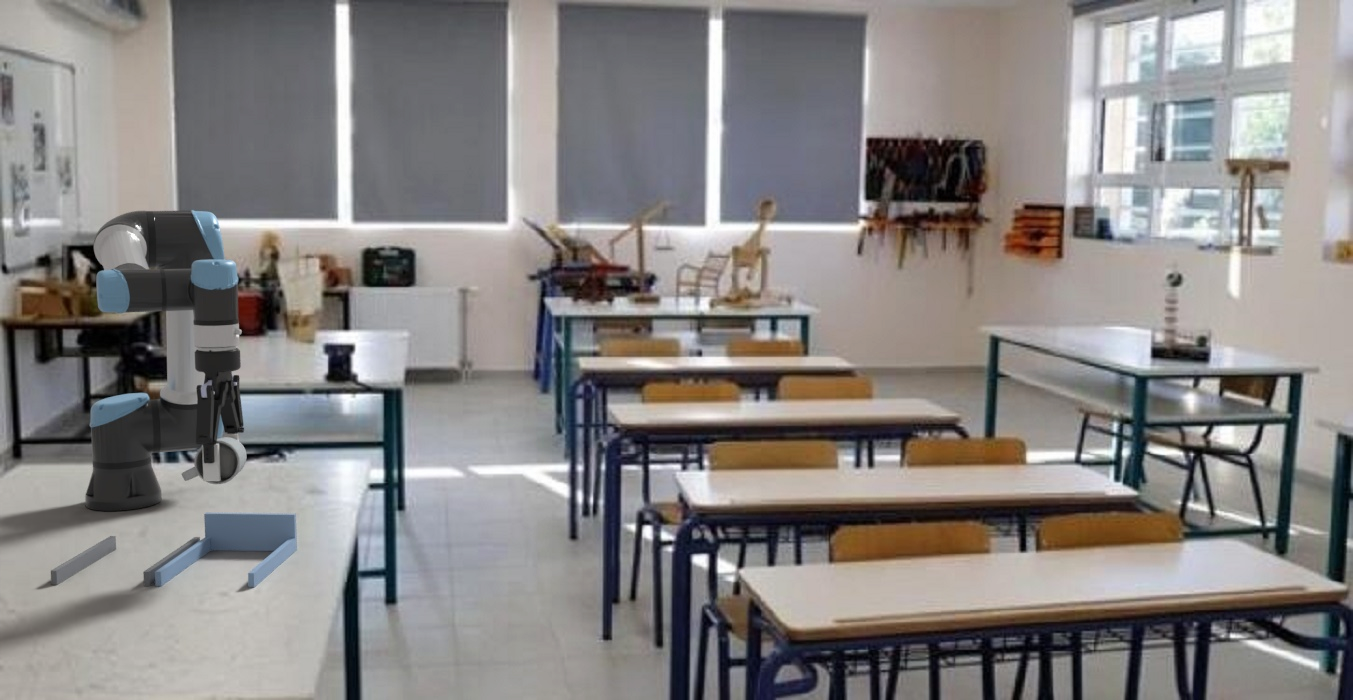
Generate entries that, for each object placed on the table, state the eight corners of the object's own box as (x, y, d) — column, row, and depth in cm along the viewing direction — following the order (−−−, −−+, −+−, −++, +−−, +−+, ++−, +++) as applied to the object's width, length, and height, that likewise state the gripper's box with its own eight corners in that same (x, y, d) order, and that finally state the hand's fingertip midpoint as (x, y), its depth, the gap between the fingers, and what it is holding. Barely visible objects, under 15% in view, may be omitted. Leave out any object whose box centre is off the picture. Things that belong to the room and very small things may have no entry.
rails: (110, 548, 238) (110, 536, 237) (200, 550, 237) (199, 537, 237) (51, 584, 216) (50, 570, 215) (149, 586, 215) (149, 571, 215)
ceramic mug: (249, 473, 228) (247, 431, 227) (240, 483, 220) (238, 440, 219) (188, 476, 226) (185, 434, 225) (177, 486, 218) (174, 442, 217)
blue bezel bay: (207, 548, 238) (206, 512, 237) (297, 549, 238) (295, 513, 237) (155, 586, 215) (153, 546, 215) (254, 587, 215) (252, 547, 214)
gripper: (215, 355, 210) (220, 489, 212) (259, 341, 231) (264, 462, 233) (170, 355, 210) (176, 488, 212) (219, 340, 231) (223, 462, 234)
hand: (222, 474), depth 223 cm, fingers closed on ceramic mug, 8 cm apart
